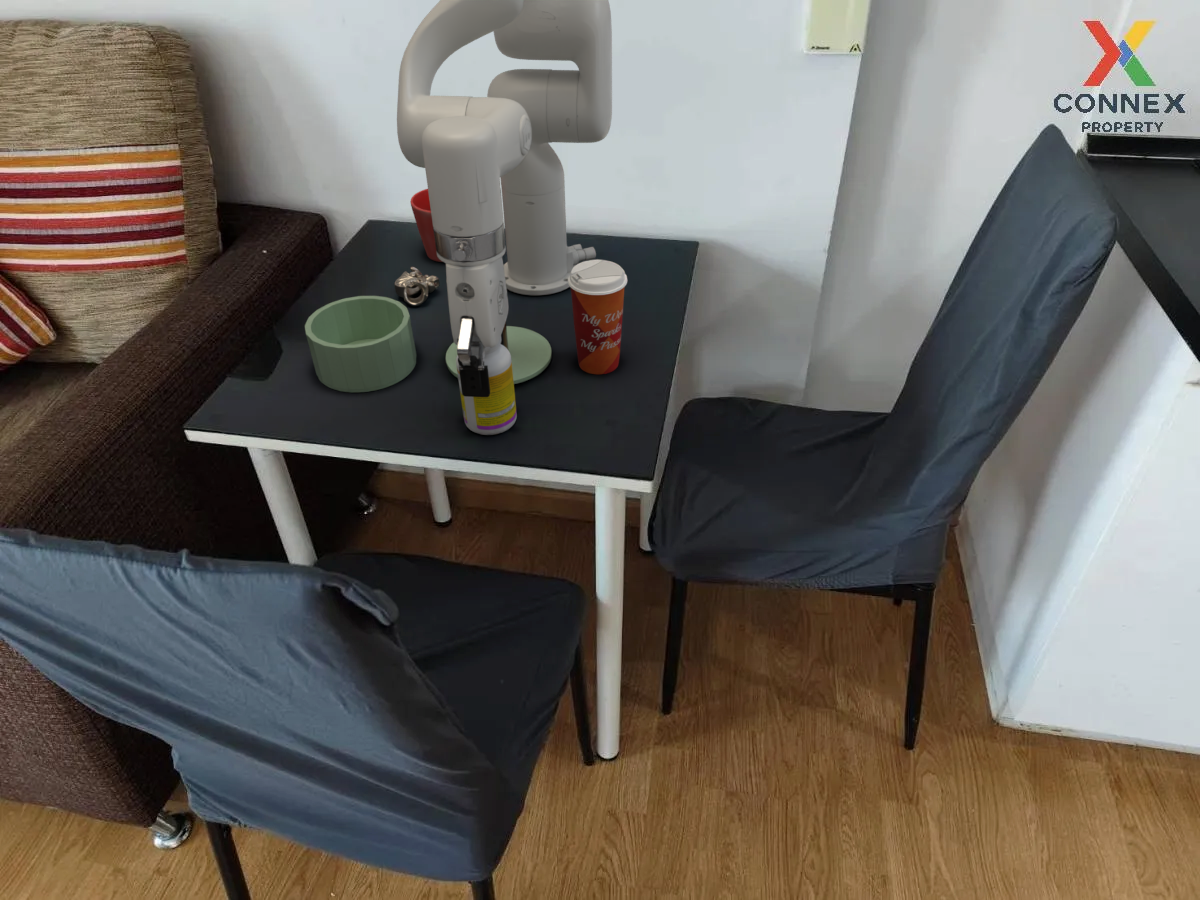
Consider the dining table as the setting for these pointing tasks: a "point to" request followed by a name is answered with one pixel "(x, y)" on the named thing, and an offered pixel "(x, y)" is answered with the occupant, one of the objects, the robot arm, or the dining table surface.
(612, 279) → the paper cup
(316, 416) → the dining table surface
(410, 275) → the ornament
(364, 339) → the pot
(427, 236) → the flower pot
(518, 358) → the pot lid
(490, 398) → the supplement bottle
